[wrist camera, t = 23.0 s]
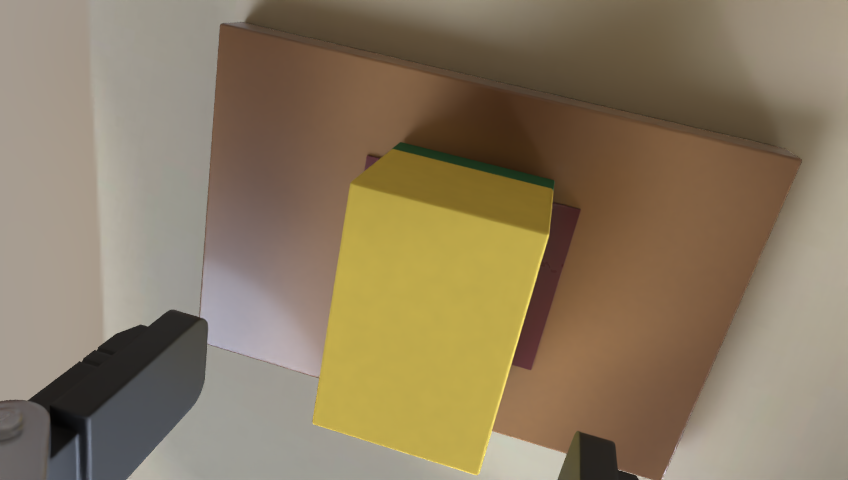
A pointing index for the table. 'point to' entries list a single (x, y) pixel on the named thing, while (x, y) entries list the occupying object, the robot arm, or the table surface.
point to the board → (565, 250)
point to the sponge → (430, 302)
